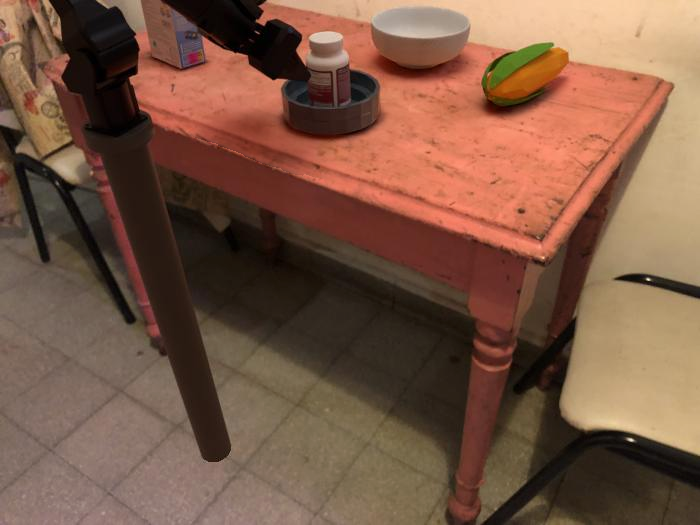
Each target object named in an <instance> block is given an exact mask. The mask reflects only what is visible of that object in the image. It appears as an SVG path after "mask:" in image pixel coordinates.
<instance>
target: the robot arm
mask: <svg viewBox="0 0 700 525" xmlns="http://www.w3.org/2000/svg"><path fill="white" fill-rule="evenodd" d="M161 1H162V2H164V3H165V4H167V5H168V6H169V7H171V8H172V9H173V10H175V11H176V12H178V13H179V14H180V15H182V16H183V17H185V18H186V20H187V21H189V22H190V23H191V24H193V25H194V26H196V27H197V30H198V33H199V34H200V35H202V38H204V39H206V40H208V41H209V42H210V43H212V44H214V45H215V46H217V47H219V48H221V49H222V50H224V51H228V52H232V53H234V54H240V55H243V56H247V61H248V62H247V63H248V65H249V66H251V67H252V68H253V69H255V70H256V71H257V72H259V73H260V74H262V75H263V76H265V77H267V78H268V79H270V80H272V81H276V80H285V81H287V80H294V81H301V82H308V81H309V79H310V78H311V73H310V72H309V70H308V69H307V67H306V63H304V61H303V60H302V58H301V56H300V55H299V53H298V51H297V50H298V48H299V46H300V45H301V43H302V41H303V34H302V33H301V32H300V31H299V30H297V28H295V27H294V26H293V25H291V24H289V23H287V22H285V21H282V20H280V19H279V18H272V19H269V20H266V22H265V23H264V24H261V23H260V22H258V21H260V19H261V18H262V15H264V12H265V11H264V9H263V8H261V6H262V5H263V4H265V3H266V2H267V1H268V0H161ZM48 2H49V4H50V5H51V7H52V8H53V10H54V12H55V13H56V14H57V17H58V18H59V23H60V24H59V25H60V35H61V37H60V38H61V45H62V47H63V48H64V50H65V53H66V54H67V56H68V58H69V59H68V60H67V63H66V66H65V67H64V70H63V71H62V74H61V76H60V78H61V80H62V82H63V83H64V85H65V87H66V89H67V91H68V92H69V93H72V94H76V95H80V97H81V100H82V103H83V105H84V109H85V112H86V114H87V118H88V119H89V121H90V122H89V123H87V124H85V125H84V128H85V129H86V130H90V131H94V132H98V133H102V134H106V135H109V136H113V137H119V136H121V135H123V134H124V133H126V132H127V131H129V130H131V129H132V128H134V127H136V126H137V125H139V124H140V123H142V122H144V121H145V120H147V119H148V116H147V115H145V114H140V113H139V112H140V110H141V109H140V105H139V102H138V99H137V98H138V97H137V96H136V91H135V87H134V85H133V84H131V79H130V78H132V77H135V76H137V75H139V60H140V59H139V58H140V52H141V49H140V44H139V43H138V40H137V38H136V36H137V33H136V31H135V30H134V29H133V28H132V27H131V26H130V24H129V23H128V20H127V19H126V17H125V15H124V12H123V11H122V10H121V9H120V8H119V7H118V6H117V5H113V6H110V7H109V8H108V7H107V6H105V5H103V4H102V3H100V1H97V0H48Z"/></svg>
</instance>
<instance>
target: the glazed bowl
mask: <svg viewBox="0 0 700 525" xmlns="http://www.w3.org/2000/svg"><path fill="white" fill-rule="evenodd" d="M350 92H351V104H349V105H345V106H335V107H317V106H311V105H309V96H308V85H307V82H301V81H294V80H285V81H284V82H283V83H282V85H281V87H280V95H281V104H282V113H283V118H284V121H285V122H286V123H287V124H288V125H289V126H290V127H292V128H294V129H296V130H298V131H300V132H305V133H309V134H312V135H331V136H333V135H341V134H342V135H343V134H348V133H352V132H356V131H359V130H363V129H364V128H366V127H368V126H371V125H372V124H373V123H374V122H375V121H376V120H377V119H378V118H379V115H380V112H381V84H380V82H379V81H378V79H377V78H376V77H374V76H373V75H371V74H370V73H368V72H364V71H362V70H360V69H353V68H350Z"/></svg>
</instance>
